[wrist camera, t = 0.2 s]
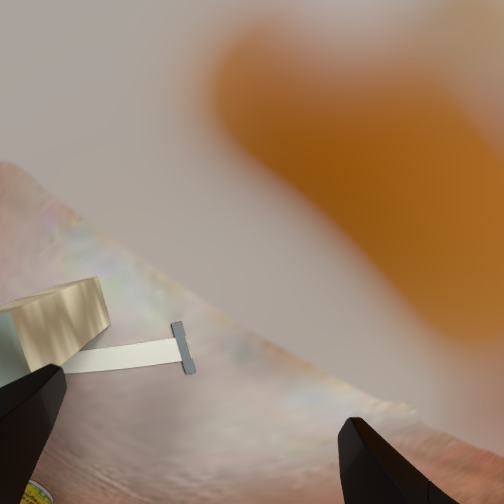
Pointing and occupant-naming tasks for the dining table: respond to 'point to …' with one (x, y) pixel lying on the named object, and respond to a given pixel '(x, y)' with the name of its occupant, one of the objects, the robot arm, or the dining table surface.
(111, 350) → the tape line
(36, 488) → the supplement bottle
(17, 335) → the beige tall block
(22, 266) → the dining table surface
